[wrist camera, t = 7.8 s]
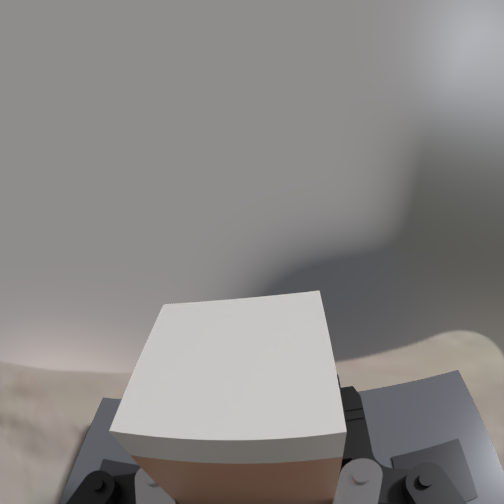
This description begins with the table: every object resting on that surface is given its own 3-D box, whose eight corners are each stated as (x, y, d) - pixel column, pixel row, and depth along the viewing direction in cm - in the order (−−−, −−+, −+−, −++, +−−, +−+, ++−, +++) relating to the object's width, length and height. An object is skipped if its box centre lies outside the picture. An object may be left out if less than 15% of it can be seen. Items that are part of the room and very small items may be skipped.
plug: (238, 552, 11) (109, 430, 5) (243, 489, 15) (163, 304, 9) (321, 550, 11) (346, 431, 5) (318, 485, 15) (319, 290, 9)
